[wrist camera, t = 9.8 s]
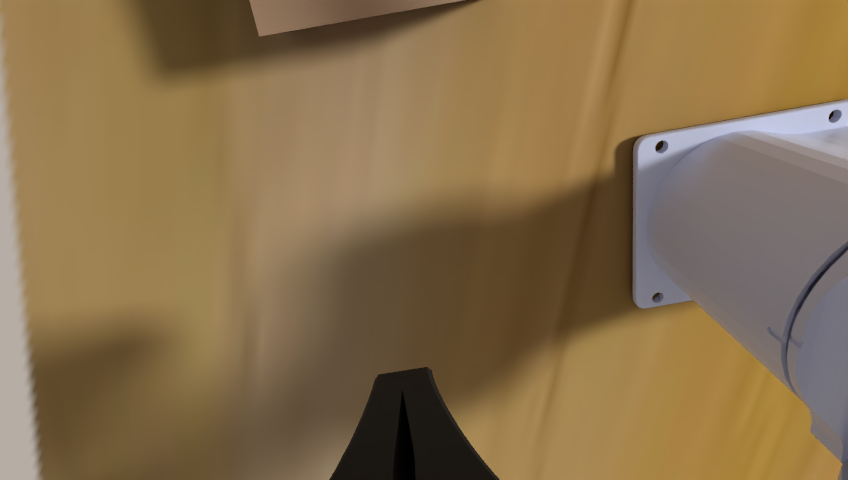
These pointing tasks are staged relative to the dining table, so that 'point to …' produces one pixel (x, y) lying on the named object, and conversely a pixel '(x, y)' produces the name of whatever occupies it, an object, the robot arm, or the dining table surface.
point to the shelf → (325, 12)
